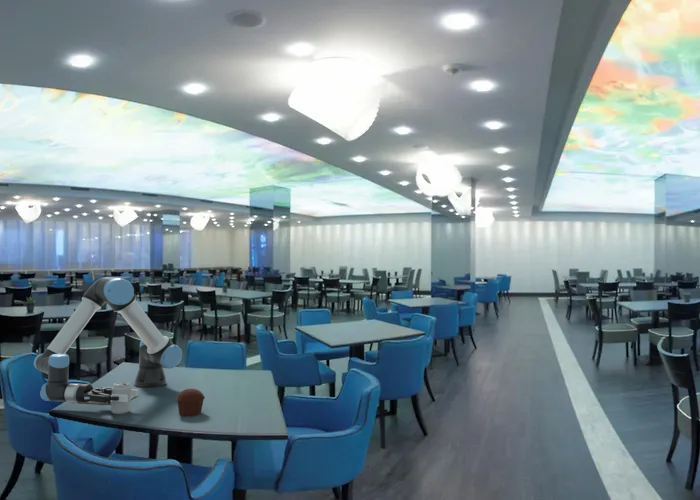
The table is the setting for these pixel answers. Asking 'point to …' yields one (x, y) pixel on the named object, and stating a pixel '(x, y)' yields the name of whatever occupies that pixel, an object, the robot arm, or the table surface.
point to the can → (121, 389)
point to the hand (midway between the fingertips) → (132, 395)
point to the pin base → (104, 403)
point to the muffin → (190, 402)
